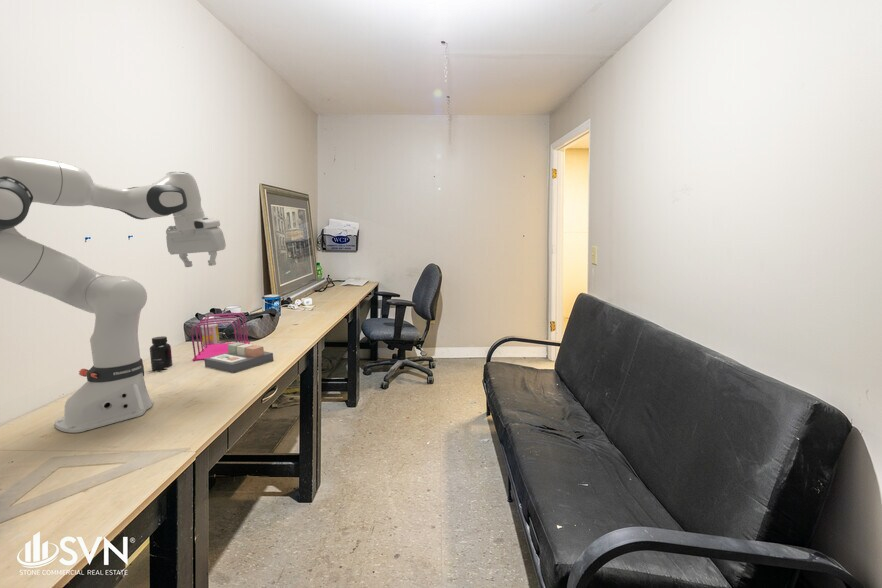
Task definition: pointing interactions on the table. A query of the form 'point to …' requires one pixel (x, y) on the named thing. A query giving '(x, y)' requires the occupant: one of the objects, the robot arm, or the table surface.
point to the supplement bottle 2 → (211, 333)
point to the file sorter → (210, 348)
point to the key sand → (243, 349)
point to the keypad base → (236, 362)
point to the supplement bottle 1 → (160, 354)
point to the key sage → (234, 347)
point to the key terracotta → (254, 351)
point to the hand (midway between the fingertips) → (200, 266)
